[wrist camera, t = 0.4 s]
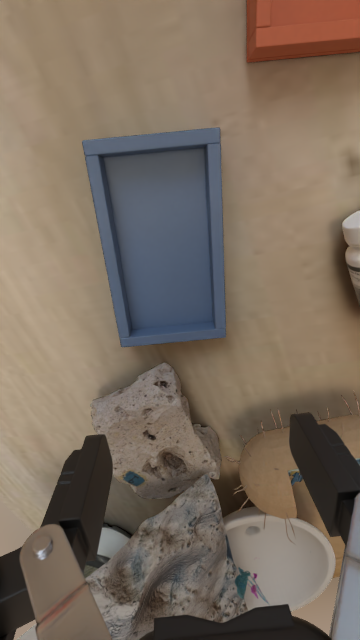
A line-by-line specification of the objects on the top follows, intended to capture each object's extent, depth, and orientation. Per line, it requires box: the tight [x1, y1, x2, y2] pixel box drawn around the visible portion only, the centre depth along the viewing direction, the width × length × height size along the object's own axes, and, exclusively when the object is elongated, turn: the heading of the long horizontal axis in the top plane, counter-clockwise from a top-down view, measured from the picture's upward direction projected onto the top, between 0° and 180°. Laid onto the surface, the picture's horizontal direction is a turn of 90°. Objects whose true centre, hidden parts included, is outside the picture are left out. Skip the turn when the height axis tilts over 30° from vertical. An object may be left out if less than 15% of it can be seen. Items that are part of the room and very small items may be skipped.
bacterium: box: [224, 391, 360, 544], centre depth 24 cm, size 11×20×10 cm
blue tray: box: [82, 127, 226, 347], centre depth 21 cm, size 14×8×2 cm, turn 5°
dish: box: [223, 507, 335, 612], centre depth 32 cm, size 18×14×5 cm
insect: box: [235, 558, 270, 606], centre depth 27 cm, size 8×6×4 cm
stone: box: [90, 363, 222, 499], centre depth 26 cm, size 13×6×10 cm
